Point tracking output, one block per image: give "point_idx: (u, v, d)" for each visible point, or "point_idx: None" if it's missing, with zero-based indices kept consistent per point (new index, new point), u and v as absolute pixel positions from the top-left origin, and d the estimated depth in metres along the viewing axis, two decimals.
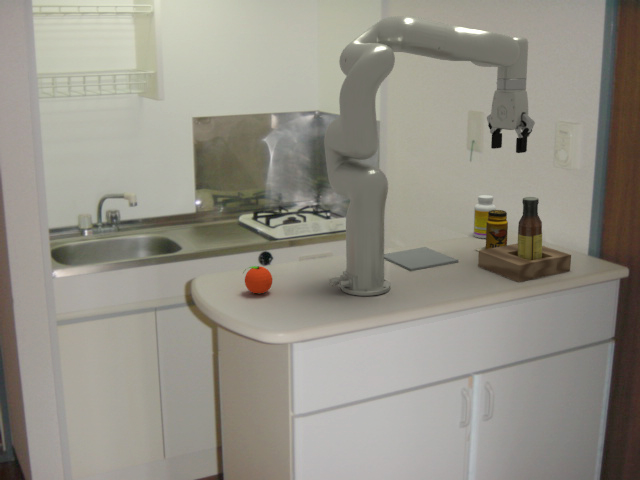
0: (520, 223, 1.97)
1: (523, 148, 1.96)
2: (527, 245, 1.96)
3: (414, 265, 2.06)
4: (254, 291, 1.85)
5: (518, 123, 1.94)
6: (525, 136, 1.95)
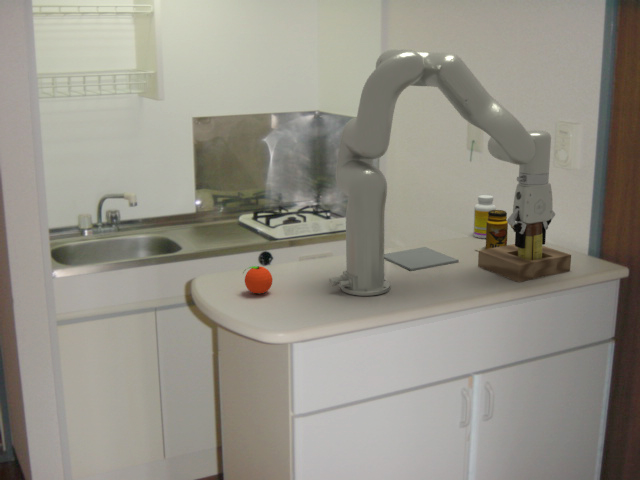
0: None
1: None
2: (527, 245, 1.96)
3: (414, 265, 2.06)
4: (254, 291, 1.85)
5: None
6: None
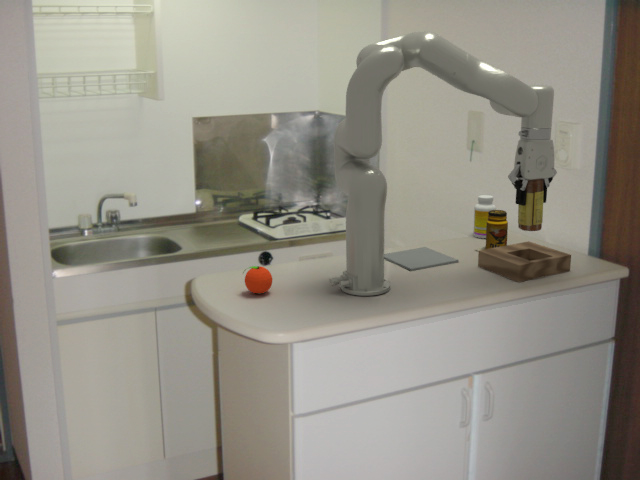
0: None
1: None
2: (528, 202, 1.93)
3: (414, 265, 2.06)
4: (254, 291, 1.85)
5: None
6: None
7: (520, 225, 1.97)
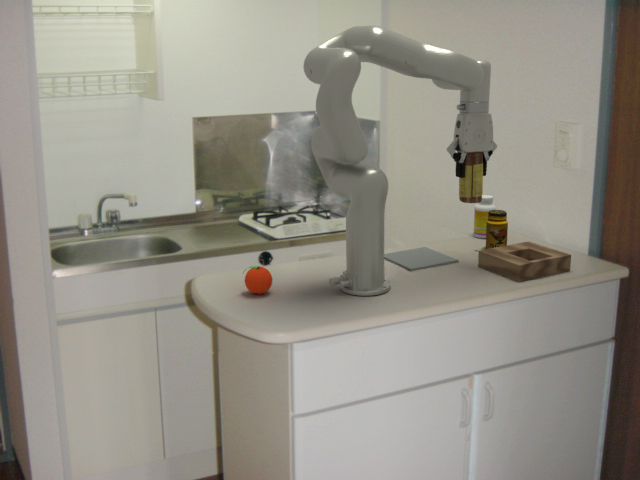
0: (461, 153, 1.99)
1: None
2: (467, 174, 1.98)
3: (414, 265, 2.06)
4: (254, 291, 1.85)
5: None
6: None
7: (460, 197, 2.01)
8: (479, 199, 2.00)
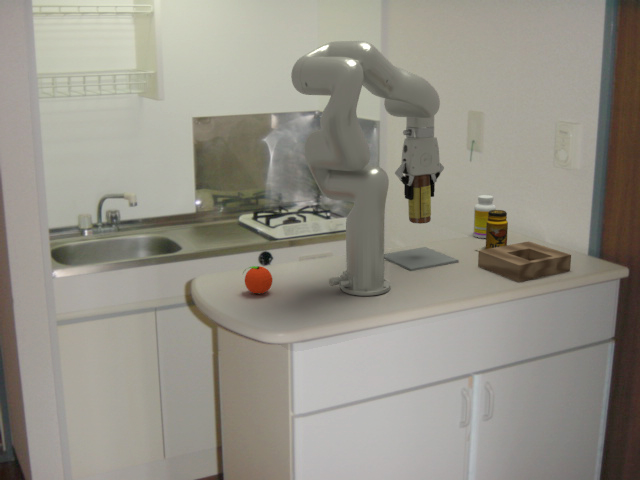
0: None
1: None
2: (415, 196, 2.06)
3: (414, 265, 2.06)
4: (254, 291, 1.85)
5: None
6: None
7: (410, 218, 2.09)
8: (428, 219, 2.08)
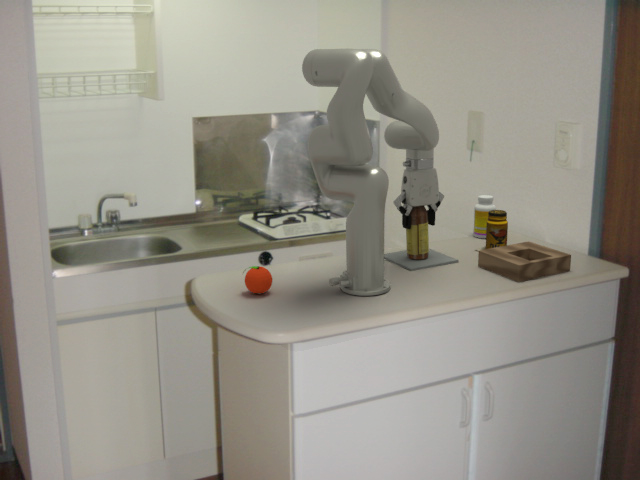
0: None
1: None
2: (413, 233, 2.08)
3: (414, 265, 2.06)
4: (254, 291, 1.85)
5: None
6: None
7: (408, 254, 2.12)
8: (425, 256, 2.10)
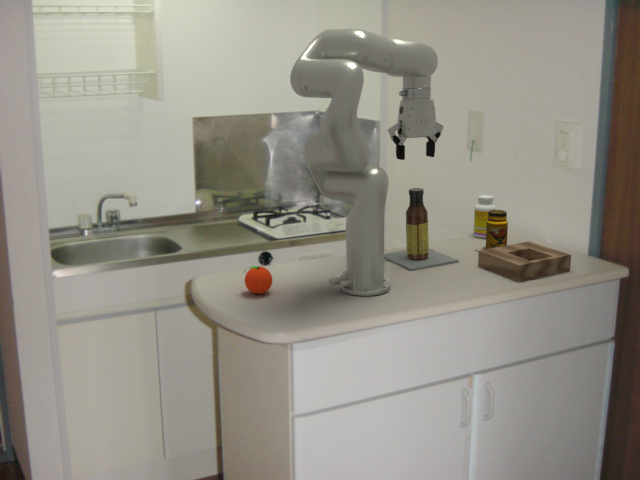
0: (407, 212, 2.09)
1: None
2: (413, 233, 2.08)
3: (414, 265, 2.06)
4: (254, 291, 1.85)
5: None
6: None
7: (408, 254, 2.12)
8: (425, 256, 2.10)
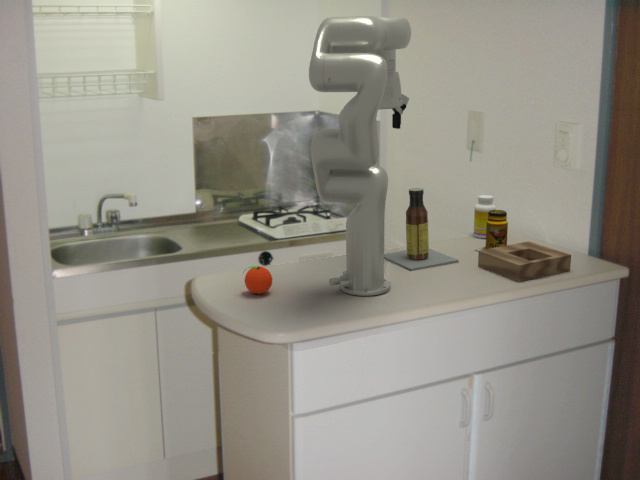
0: (407, 212, 2.09)
1: None
2: (413, 233, 2.08)
3: (414, 265, 2.06)
4: (254, 291, 1.85)
5: None
6: None
7: (408, 254, 2.12)
8: (425, 256, 2.10)
